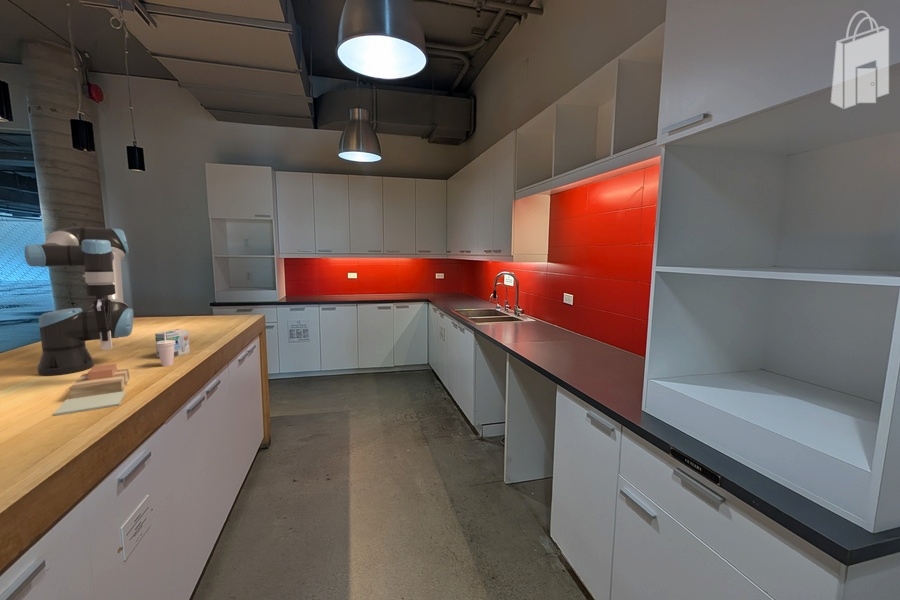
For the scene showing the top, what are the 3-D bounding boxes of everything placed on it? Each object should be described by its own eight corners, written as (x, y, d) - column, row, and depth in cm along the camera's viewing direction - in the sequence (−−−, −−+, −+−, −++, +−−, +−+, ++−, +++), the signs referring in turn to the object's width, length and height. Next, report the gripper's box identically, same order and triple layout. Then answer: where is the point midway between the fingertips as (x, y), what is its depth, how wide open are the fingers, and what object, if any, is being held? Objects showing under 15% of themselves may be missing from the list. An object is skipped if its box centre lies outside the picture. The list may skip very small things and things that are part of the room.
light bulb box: (168, 359, 161) (166, 334, 159) (156, 357, 162) (154, 333, 161) (190, 352, 171) (189, 329, 170) (178, 351, 173) (177, 328, 171)
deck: (84, 384, 129) (82, 373, 129) (129, 379, 136) (128, 368, 135) (70, 400, 116) (69, 388, 115) (121, 393, 122) (120, 381, 122)
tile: (94, 373, 129) (93, 366, 129) (117, 370, 133) (116, 363, 132) (88, 379, 123) (87, 372, 122) (112, 376, 126) (111, 369, 126)
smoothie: (155, 368, 148) (153, 333, 147) (159, 363, 154) (156, 330, 152) (175, 366, 151) (173, 332, 150) (178, 361, 157) (176, 329, 155)
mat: (66, 401, 115) (66, 399, 115) (125, 392, 123) (125, 390, 123) (53, 415, 105) (53, 413, 105) (119, 405, 113) (119, 403, 113)
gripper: (90, 282, 135) (97, 346, 138) (80, 285, 124) (88, 354, 127) (117, 282, 139) (123, 344, 142) (110, 284, 128) (117, 351, 131)
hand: (106, 349), depth 134 cm, fingers closed
